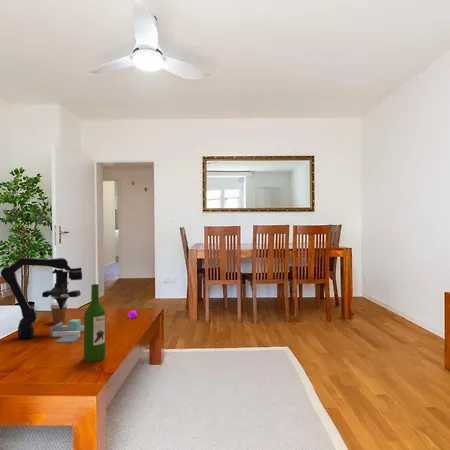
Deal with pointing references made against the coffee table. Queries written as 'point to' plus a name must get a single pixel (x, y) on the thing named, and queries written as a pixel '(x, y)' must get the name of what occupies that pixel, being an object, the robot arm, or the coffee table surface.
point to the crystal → (132, 314)
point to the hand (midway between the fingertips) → (61, 309)
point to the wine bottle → (94, 328)
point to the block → (74, 325)
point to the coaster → (68, 339)
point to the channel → (63, 331)
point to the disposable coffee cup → (58, 313)
